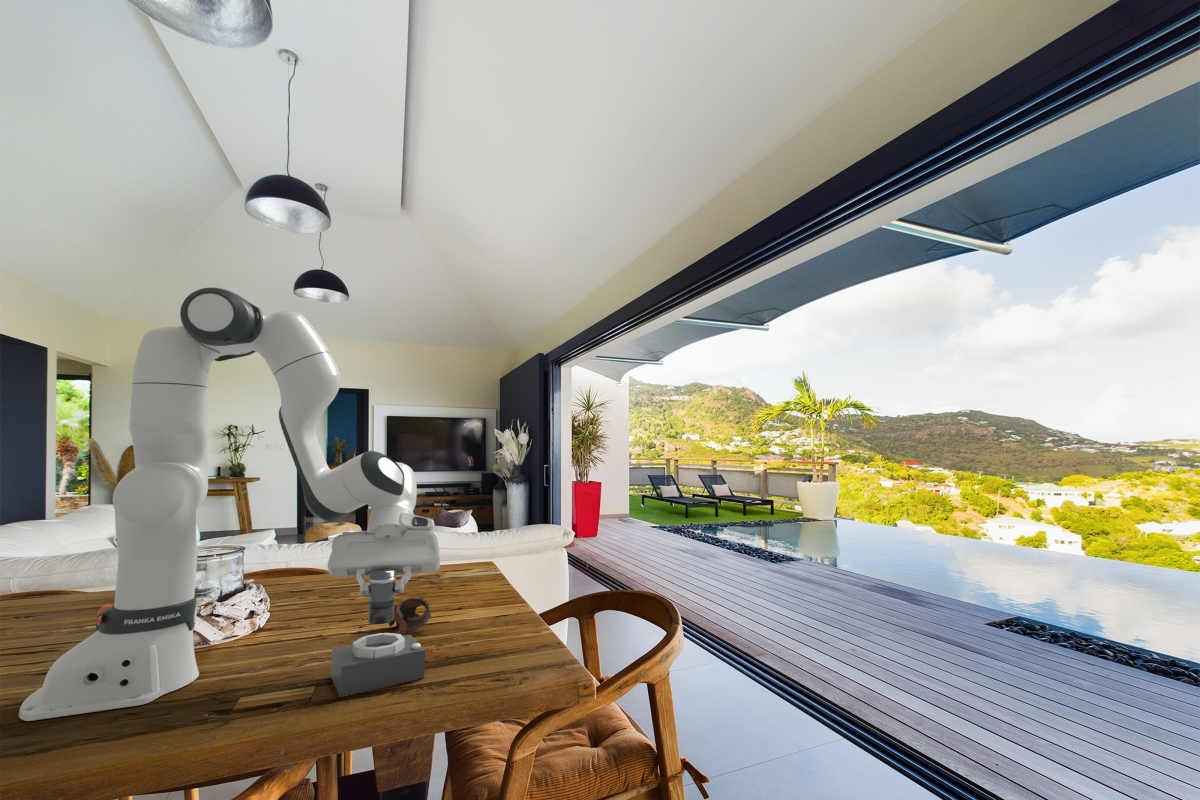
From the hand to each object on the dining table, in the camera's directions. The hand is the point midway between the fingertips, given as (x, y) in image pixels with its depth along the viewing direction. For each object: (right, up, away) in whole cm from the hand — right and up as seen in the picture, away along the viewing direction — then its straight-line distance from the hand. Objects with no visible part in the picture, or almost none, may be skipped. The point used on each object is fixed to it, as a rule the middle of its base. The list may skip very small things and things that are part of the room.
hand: (381, 592), depth 98 cm
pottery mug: (-5, -18, +26) cm, 32 cm away
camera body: (0, -15, -1) cm, 15 cm away
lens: (0, -5, 0) cm, 5 cm away
